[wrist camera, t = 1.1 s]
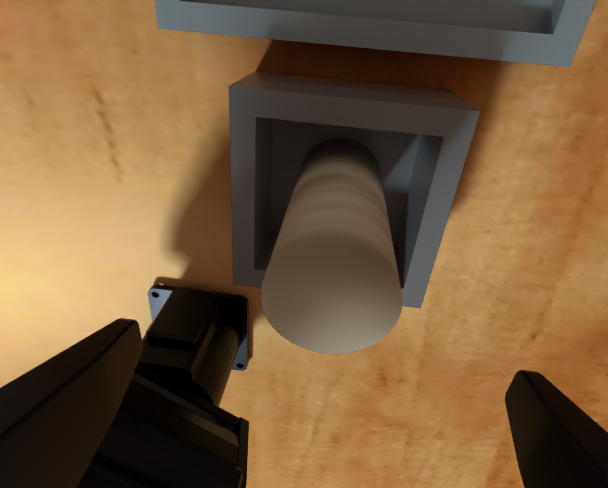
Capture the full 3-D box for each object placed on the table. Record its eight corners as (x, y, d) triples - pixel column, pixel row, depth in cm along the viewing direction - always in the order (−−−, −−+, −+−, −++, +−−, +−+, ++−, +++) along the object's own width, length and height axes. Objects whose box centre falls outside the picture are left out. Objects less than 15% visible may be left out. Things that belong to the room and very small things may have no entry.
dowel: (372, 217, 20) (387, 361, 12) (298, 208, 21) (259, 344, 12) (386, 142, 18) (417, 252, 10) (303, 133, 19) (262, 233, 10)
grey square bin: (408, 257, 22) (420, 308, 18) (253, 238, 22) (233, 284, 19) (451, 90, 17) (480, 111, 13) (255, 71, 18) (228, 86, 14)
